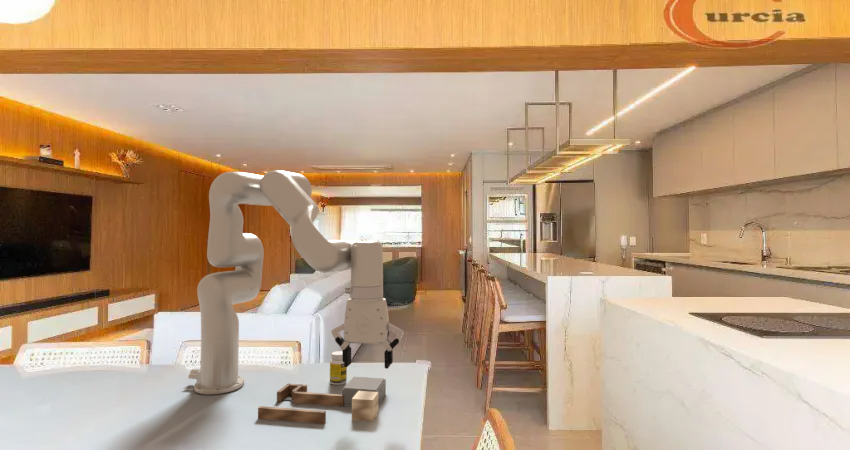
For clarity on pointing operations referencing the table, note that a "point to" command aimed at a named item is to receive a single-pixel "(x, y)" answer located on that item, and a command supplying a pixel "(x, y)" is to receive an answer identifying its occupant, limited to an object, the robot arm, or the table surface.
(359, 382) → the stand
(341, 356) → the supplement bottle
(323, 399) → the channel
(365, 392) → the block
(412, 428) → the table surface
